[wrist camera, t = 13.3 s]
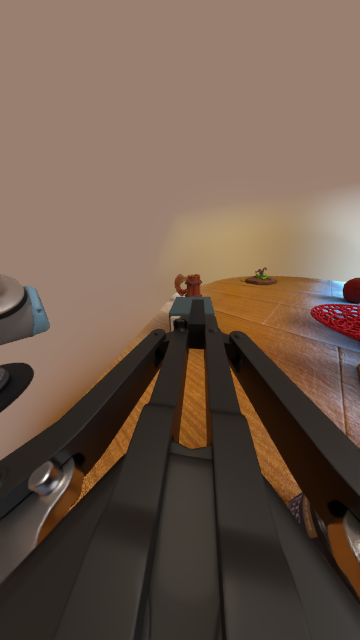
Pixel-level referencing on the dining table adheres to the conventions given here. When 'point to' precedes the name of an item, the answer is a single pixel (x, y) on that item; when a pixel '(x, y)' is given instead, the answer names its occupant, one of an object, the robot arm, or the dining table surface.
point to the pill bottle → (317, 534)
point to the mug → (189, 285)
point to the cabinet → (188, 306)
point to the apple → (352, 290)
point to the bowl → (340, 319)
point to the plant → (261, 279)
